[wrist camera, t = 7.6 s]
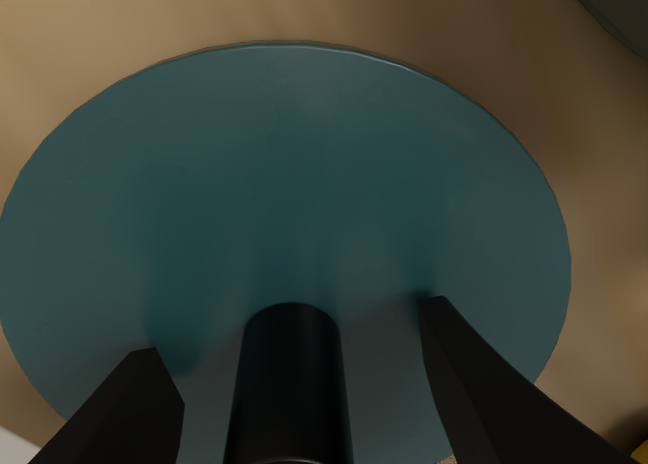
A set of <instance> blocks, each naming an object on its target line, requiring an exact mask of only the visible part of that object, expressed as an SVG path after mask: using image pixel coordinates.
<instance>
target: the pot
mask: <svg viewBox="0 0 648 464" xmlns="http://www.w3.org/2000/svg"><path fill="white" fill-rule="evenodd" d="M580 1H581V2H582V3H583V4H584V5H585V7H586V8H587V9H588V10H589V11H590V12H591V13H592V15H593V16H594V17H595V18H596V19H597V20H598V21H599V22H600V24H601V25H602V26H603V27H604V28H605V29H606V30H607V31H608V32H609V33H611V34H612V35H613V36H614V37H616V38H617V39H618V40H619V41H621V42H622V43H623V44H624V45H626V46H627V47H628V48H630V49H631V50H632V51H633V52H635V53H637V54H638V55H640V56H642V57H644V58H646V59H648V0H580Z"/></svg>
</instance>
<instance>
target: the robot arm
mask: <svg viewBox="0 0 648 464" xmlns="http://www.w3.org/2000/svg"><path fill="white" fill-rule="evenodd" d="M416 303H417V312H418V320H419V328H420V337H421V345H422V354H423V362H424V367H425V370H426V374H427V378H428V382H429V385H430V389H431V393H432V396H433V400H434V403H435V406H436V409H437V412H438V414H439V417H440V420H441V422H442V425H443V427H444V430H445V433H446V435H447V438H448V440H449V443H450V446H451V448H452V451H453V453H454V456H455V458H456V461H457V464H641V463H640V462H638V461H637V460H635V459H634V458H632V457H630V456H629V455H627V454H626V453H624V452H623V451H621V450H620V449H618V448H617V447H615V446H614V445H612V444H611V443H609V442H608V441H607V440H605V439H604V438H602V437H601V436H599V435H598V434H597V433H595V432H594V431H592V430H591V429H590V428H588V427H587V426H585V425H584V424H583V423H581V422H580V421H579V420H577V419H576V418H575V417H573V416H572V415H571V414H569V413H568V412H567V411H565V410H564V409H563V408H561V407H560V406H559V405H558V404H556V403H555V402H554V401H553V400H551V399H550V398H549V397H548V396H547V395H545V394H544V393H543V392H542V391H540V390H539V389H538V388H537V387H536V386H535V385H533V384H532V383H531V382H530V381H529V380H528V379H526V378H525V377H524V376H523V375H522V374H521V373H520V372H518V371H517V370H516V369H515V368H514V367H513V366H512V365H511V364H510V363H509V362H507V361H506V360H505V359H504V358H503V357H502V356H501V355H500V354H499V353H498V352H497V351H496V350H495V349H494V348H493V347H492V346H491V345H490V344H489V343H488V342H487V341H486V340H485V339H484V338H483V337H482V336H481V335H480V334H479V333H478V332H477V331H476V330H475V329H474V328H473V327H472V326H471V325H470V324H469V323H468V321H467V320H466V319H465V318H464V317H463V316H462V315H461V314H460V313H459V311H458V310H457V309H456V308H455V307H454V305H453V304H452V303H451V302H450V301H449V299H448V298H446V297H445V296H443V295H441V296H435V297H430V298H424V299H419V300H416ZM184 410H185V403H184V401H183V399H182V397H181V395H180V393H179V391H178V389H177V388H176V386H175V384H174V382H173V380H172V378H171V376H170V374H169V372H168V370H167V368H166V366H165V364H164V363H163V361H162V359H161V357H160V355H159V353H158V351H157V349H156V347H152V348H146V349H140V350H135V351H131V352H130V353H129V354H128V355H127V356H126V357H125V358H124V359H123V360H122V361H121V362H120V363H119V364H118V365H117V366H116V367H115V369H114V370H113V371H112V372H111V373H110V374H109V375H108V376H107V378H106V379H105V380H104V381H103V382H102V383H101V384H100V386H99V387H98V388H97V389H96V390H95V391H94V392H93V393H92V395H91V396H90V397H89V398H88V399H87V400H86V401H85V402H84V404H83V405H82V406H81V407H80V408H79V409H78V410H77V411H76V413H75V414H74V415H73V416H72V417H71V418H70V419H69V420H68V421H67V423H66V424H65V425H64V426H63V427H62V428H61V429H60V430H59V431H58V432H57V433H56V435H55V436H54V437H53V438H52V439H51V440H50V441H49V442H48V443H47V444H46V445H45V446H44V447H43V448H42V449H41V450H40V451H39V452H38V453H37V454H36V455H35V457H34V458H33V459H32V460H31V461H30V462H29V463H28V464H176V460H177V456H178V452H179V448H180V442H181V435H182V428H183V419H184Z"/></svg>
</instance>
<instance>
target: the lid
mask: <svg viewBox="0 0 648 464" xmlns="http://www.w3.org/2000/svg"><path fill="white" fill-rule="evenodd" d="M570 290H571V256H570V250H569V243H568V237H567V231H566V226H565V223H564V220H563V217H562V214H561V211H560V208H559V205H558V203H557V200H556V197H555V195H554V193H553V191H552V189H551V187H550V186H549V184H548V182H547V180H546V178H545V176H544V175H543V173H542V171H541V169H540V167H539V166H538V164H537V163H536V162H535V160H534V159H533V158H532V157H531V155H530V154H529V153H528V152H527V150H526V149H525V148H524V147H523V145H522V144H521V143H520V142H519V140H518V139H517V138H516V137H515V135H514V134H513V133H512V132H510V131H509V130H508V129H507V128H506V127H505V126H504V125H503V124H502V123H500V122H499V121H498V120H497V119H496V118H495V117H494V116H493V115H492V114H490V113H489V112H488V111H487V110H486V109H485V108H484V107H483V106H481V105H480V104H479V103H477V102H476V101H474V100H473V99H471V98H470V97H468V96H467V95H465V94H463V93H462V92H460V91H459V90H457V89H456V88H454V87H453V86H451V85H450V84H448V83H447V82H445V81H443V80H442V79H440V78H438V77H436V76H434V75H431V74H429V73H427V72H425V71H423V70H420V69H418V68H416V67H414V66H411V65H409V64H407V63H405V62H403V61H400V60H398V59H394V58H391V57H387V56H384V55H380V54H377V53H373V52H370V51H366V50H363V49H359V48H356V47H351V46H344V45H336V44H329V43H322V42H315V41H308V40H254V41H247V42H240V43H233V44H226V45H219V46H213V47H206V48H203V49H200V50H196V51H193V52H190V53H186V54H183V55H179V56H176V57H173V58H169V59H166V60H162V61H160V62H158V63H156V64H153V65H151V66H149V67H147V68H145V69H143V70H141V71H138V72H136V73H134V74H132V75H130V76H128V77H126V78H123V79H121V80H119V81H118V82H116V83H114V84H113V85H111V86H110V87H108V88H107V89H105V90H104V91H102V92H101V93H99V94H98V95H96V96H95V97H93V98H92V99H91V100H89V101H88V102H86V103H85V104H83V105H82V106H80V107H79V108H77V109H76V110H74V111H73V112H72V113H71V114H70V115H69V116H68V117H67V118H66V119H65V120H64V121H63V122H62V123H61V124H60V125H59V126H58V127H56V128H55V129H54V130H53V131H52V132H51V133H50V134H49V135H48V136H47V137H46V138H45V139H44V140H43V141H42V143H41V144H40V145H39V147H38V148H37V150H36V151H35V152H34V154H33V155H32V156H31V158H30V159H29V160H28V162H27V163H26V164H25V166H24V167H23V168H22V170H21V171H20V173H19V175H18V177H17V180H16V182H15V184H14V186H13V188H12V190H11V192H10V194H9V196H8V198H7V200H6V202H5V204H4V208H3V211H2V215H1V219H0V321H1V325H2V328H3V332H4V334H5V336H6V339H7V341H8V343H9V345H10V347H11V350H12V352H13V354H14V356H15V358H16V360H17V362H18V363H19V365H20V367H21V368H22V370H23V371H24V373H25V374H26V376H27V377H28V379H29V381H30V382H31V384H32V385H33V386H34V387H35V389H36V390H37V391H38V392H39V393H40V394H41V396H42V397H43V398H44V399H45V400H46V402H47V403H48V404H49V405H50V406H51V407H52V408H53V409H54V410H55V411H56V412H57V413H58V414H59V415H60V416H61V417H62V418H64V419H65V420H66V421H68V420H69V419H70V418H71V417H72V416H73V415H74V414H75V413H76V411H77V410H78V409H79V408H80V407H81V406H82V405H83V404H84V402H85V401H86V400H87V399H88V398H89V397H90V396H91V395H92V393H93V392H94V391H95V390H96V389H97V388H98V387H99V386H100V384H101V383H102V382H103V381H104V380H105V379H106V378H107V376H108V375H109V374H110V373H111V372H112V371H113V370H114V369H115V367H116V366H117V365H118V364H119V363H120V362H121V361H122V360H123V359H124V358H125V357H126V356H127V355H128V354H129V353H130V352H131V351H135V350H140V349H146V348H152V347H156V349H157V351H158V353H159V355H160V357H161V359H162V361H163V363H164V364H165V366H166V368H167V370H168V372H169V374H170V376H171V378H172V380H173V382H174V384H175V386H176V388H177V389H178V391H179V393H180V395H181V397H182V399H183V401H184V403H185V410H184V419H183V428H182V435H181V442H180V448H179V452H178V456H177V460H176V464H436V463H438V462H440V461H442V460H444V459H446V458H447V457H449V456H451V455H453V454H454V453H453V451H452V448H451V446H450V443H449V440H448V438H447V435H446V433H445V430H444V427H443V425H442V422H441V420H440V417H439V414H438V412H437V409H436V406H435V403H434V400H433V396H432V393H431V389H430V385H429V382H428V378H427V374H426V370H425V367H424V362H423V354H422V345H421V337H420V328H419V320H418V312H417V303H416V300H419V299H424V298H430V297H435V296H441V295H443V296H445V297H446V298H448V299H449V301H450V302H451V303H452V304H453V305H454V307H455V308H456V309H457V310H458V311H459V313H460V314H461V315H462V316H463V317H464V318H465V319H466V320H467V321H468V323H469V324H470V325H471V326H472V327H473V328H474V329H475V330H476V331H477V332H478V333H479V334H480V335H481V336H482V337H483V338H484V339H485V340H486V341H487V342H488V343H489V344H490V345H491V346H492V347H493V348H494V349H495V350H496V351H497V352H498V353H499V354H500V355H501V356H502V357H503V358H504V359H505V360H506V361H507V362H509V363H510V364H511V365H512V366H513V367H514V368H515V369H516V370H517V371H518V372H520V373H521V374H522V375H523V376H524V377H525V378H526V379H528V380H529V381H530V382H531V383H532V384H533V383H534V382H535V381H536V379H537V378H538V376H539V375H540V373H541V372H542V371H543V369H544V367H545V365H546V363H547V361H548V359H549V358H550V356H551V354H552V352H553V350H554V348H555V346H556V344H557V341H558V338H559V335H560V332H561V329H562V326H563V324H564V321H565V318H566V312H567V307H568V301H569V295H570Z"/></svg>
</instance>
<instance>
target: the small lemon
mask: <svg viewBox="0 0 648 464" xmlns="http://www.w3.org/2000/svg"><path fill="white" fill-rule="evenodd" d="M630 457H632V458H634V459H635V460H637V461H638V462H640V463H641V464H648V439H647V440H646V441H645V442H643V443H642V444H641V445H640V446H639V447H638V448H637V449H636V450H635V451H634V452H632V454H631V456H630Z"/></svg>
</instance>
